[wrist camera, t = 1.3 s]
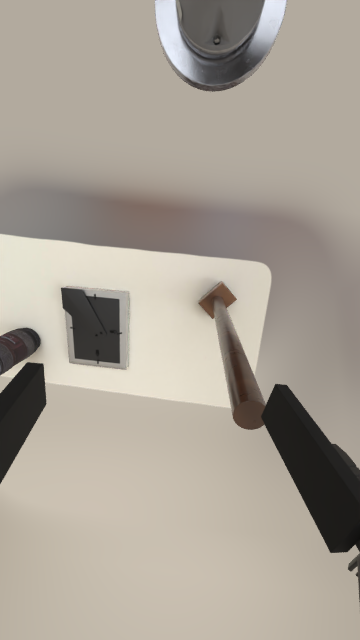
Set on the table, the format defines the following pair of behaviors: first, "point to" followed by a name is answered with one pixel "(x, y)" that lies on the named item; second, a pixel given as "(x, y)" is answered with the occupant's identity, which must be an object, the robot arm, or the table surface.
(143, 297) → the table surface
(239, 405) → the brown piece
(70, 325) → the picture frame
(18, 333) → the camera lens
